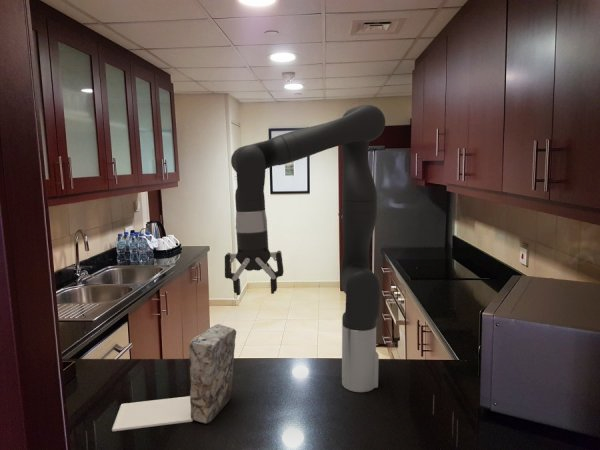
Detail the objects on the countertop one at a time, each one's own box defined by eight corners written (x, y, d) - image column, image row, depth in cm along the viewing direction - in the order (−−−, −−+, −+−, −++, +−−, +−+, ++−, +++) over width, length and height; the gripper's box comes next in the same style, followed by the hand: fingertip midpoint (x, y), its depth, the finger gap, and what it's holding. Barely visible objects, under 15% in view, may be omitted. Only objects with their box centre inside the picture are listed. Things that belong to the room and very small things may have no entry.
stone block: (213, 426, 100) (216, 344, 97) (186, 421, 101) (188, 340, 99) (234, 397, 113) (237, 324, 110) (210, 393, 114) (212, 321, 112)
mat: (194, 397, 113) (194, 395, 113) (192, 421, 102) (192, 419, 102) (121, 405, 109) (121, 403, 109) (112, 431, 98) (112, 429, 98)
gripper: (282, 225, 108) (285, 288, 110) (225, 228, 108) (229, 290, 110) (280, 230, 100) (283, 297, 102) (219, 232, 101) (224, 299, 103)
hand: (255, 293), depth 106 cm, fingers open, 8 cm apart
